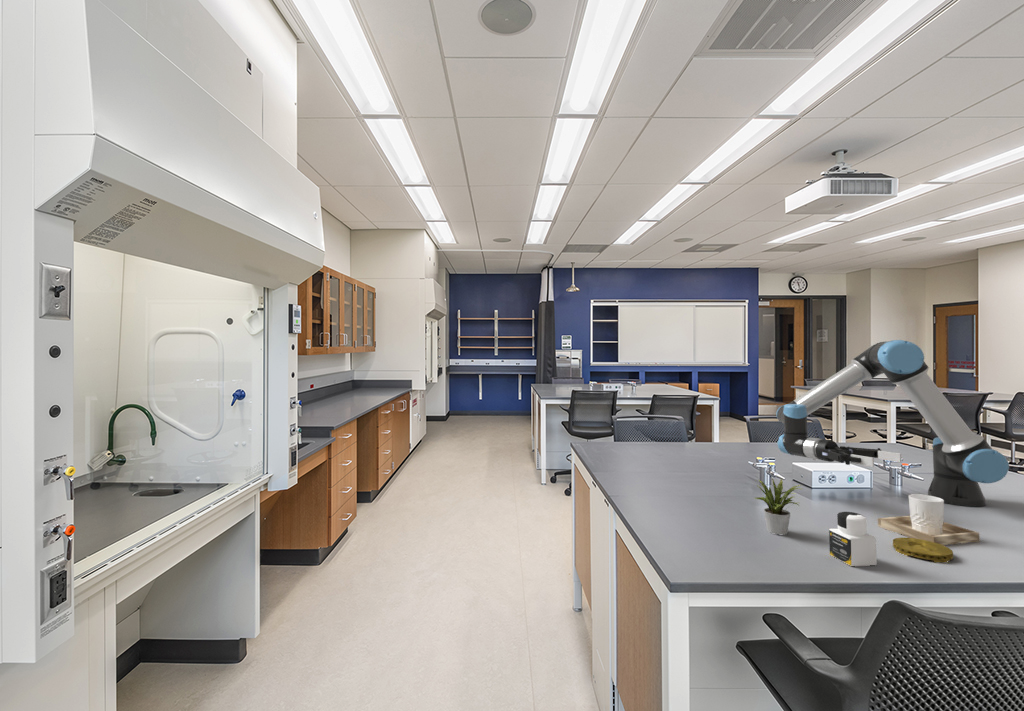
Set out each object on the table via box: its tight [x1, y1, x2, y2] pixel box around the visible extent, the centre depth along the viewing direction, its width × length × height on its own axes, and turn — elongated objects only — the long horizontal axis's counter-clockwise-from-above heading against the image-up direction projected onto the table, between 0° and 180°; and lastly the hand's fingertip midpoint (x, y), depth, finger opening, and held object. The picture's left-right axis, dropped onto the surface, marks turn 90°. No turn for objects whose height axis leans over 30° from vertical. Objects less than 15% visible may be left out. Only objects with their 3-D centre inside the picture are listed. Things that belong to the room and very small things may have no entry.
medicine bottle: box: [828, 511, 878, 567], centre depth 119 cm, size 7×7×12 cm
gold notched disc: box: [892, 537, 954, 563], centre depth 123 cm, size 12×12×2 cm
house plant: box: [754, 476, 803, 535], centre depth 138 cm, size 14×14×16 cm
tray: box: [877, 515, 980, 546], centre depth 137 cm, size 16×16×2 cm
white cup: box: [908, 493, 945, 535], centre depth 137 cm, size 8×8×10 cm
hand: (887, 460), depth 146 cm, fingers open, 13 cm apart
